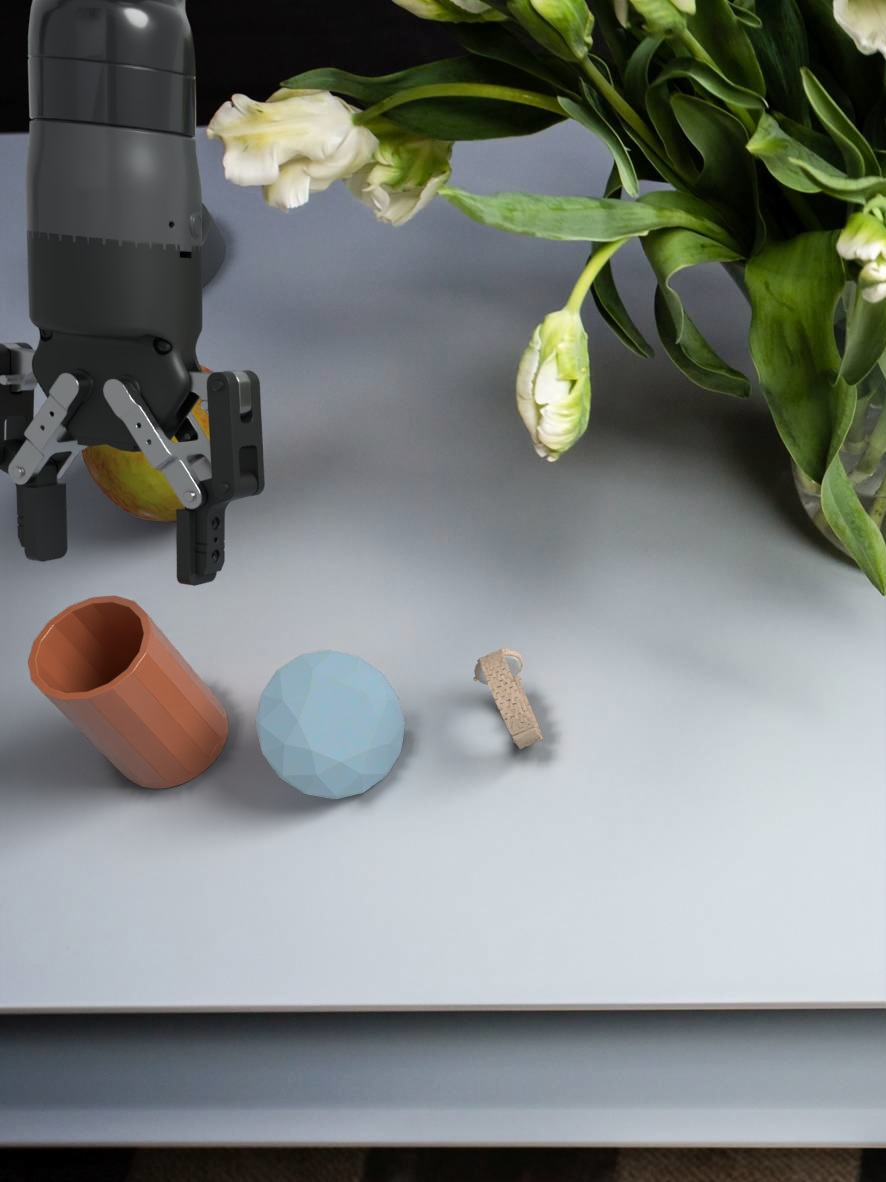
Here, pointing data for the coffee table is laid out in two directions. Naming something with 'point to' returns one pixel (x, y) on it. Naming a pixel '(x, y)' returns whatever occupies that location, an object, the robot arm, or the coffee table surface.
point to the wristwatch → (509, 694)
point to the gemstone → (330, 724)
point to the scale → (211, 247)
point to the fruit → (137, 477)
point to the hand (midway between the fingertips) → (121, 570)
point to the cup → (129, 691)
